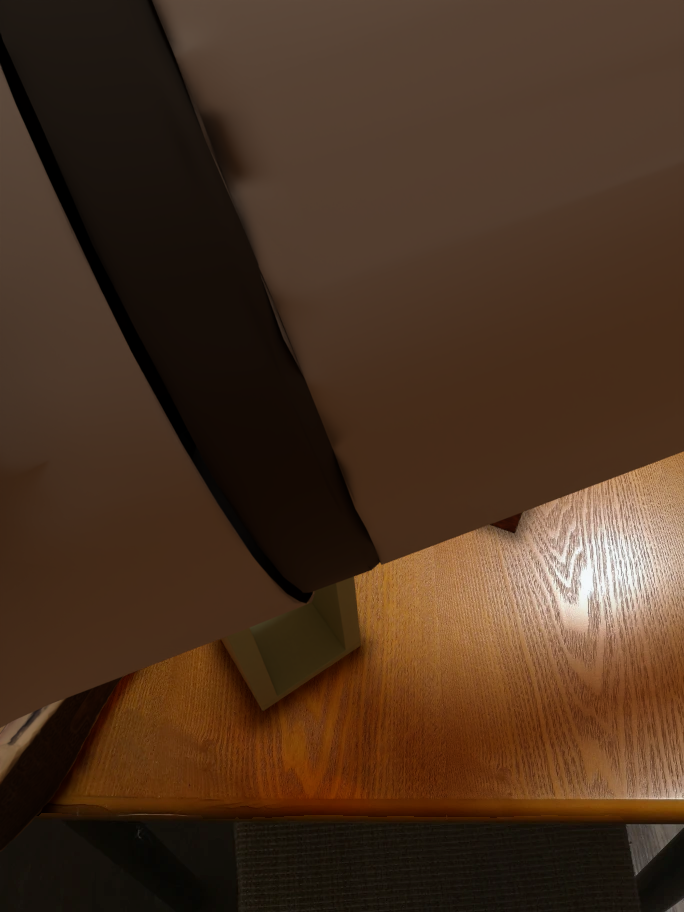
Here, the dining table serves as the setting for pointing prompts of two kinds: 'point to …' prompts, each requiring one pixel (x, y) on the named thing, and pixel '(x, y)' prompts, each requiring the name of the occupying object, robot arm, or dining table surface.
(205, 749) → the dining table surface
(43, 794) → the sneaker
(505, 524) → the hamburger
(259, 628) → the shelf
